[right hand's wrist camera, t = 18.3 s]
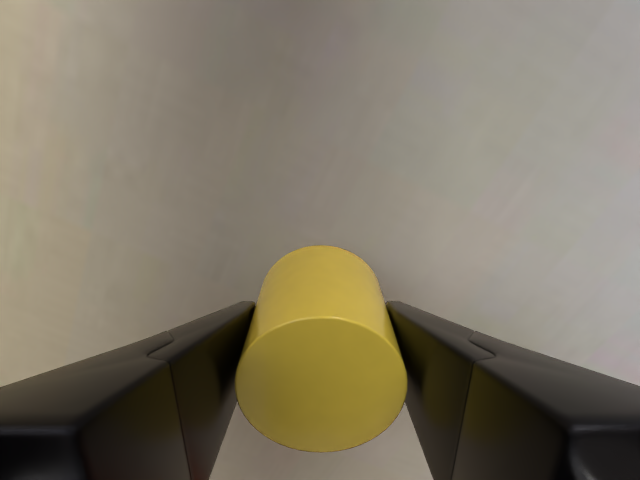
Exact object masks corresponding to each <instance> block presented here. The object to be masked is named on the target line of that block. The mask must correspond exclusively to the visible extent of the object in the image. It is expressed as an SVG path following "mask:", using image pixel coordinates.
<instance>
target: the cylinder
mask: <svg viewBox="0 0 640 480" xmlns="http://www.w3.org/2000/svg"><path fill="white" fill-rule="evenodd" d="M407 385H408V380H407V372H406V369H405V365H404V362H403V359H402V356H401V353H400V349H399V346H398V343H397V340H396V337H395V334H394V330H393V327H392V324H391V321H390V318H389V314H388V311H387V308H386V305H385V302H384V299H383V295H382V292H381V289H380V286H379V283H378V280H377V278H376V276H375V274H374V272H373V271H372V269H371V268H370V267H369V266H368V265H367V264H366V263H365V262H364V261H363V260H362V259H361V258H359V257H358V256H356V255H355V254H353V253H351V252H349V251H347V250H344V249H341V248H338V247H333V246H324V245H318V246H309V247H304V248H300V249H297V250H295V251H293V252H290V253H289V254H287V255H285V256H284V257H282V258H281V259H280V260H278V261H277V262H276V263H275V264H274V265H273V266H272V268H271V269H270V270H269V272H268V273H267V275H266V277H265V279H264V281H263V284H262V287H261V291H260V294H259V297H258V301H257V304H256V307H255V310H254V314H253V317H252V320H251V324H250V327H249V330H248V333H247V337H246V340H245V343H244V346H243V350H242V353H241V356H240V360H239V363H238V366H237V369H236V375H235V393H236V398H237V401H238V404H239V407H240V409H241V410H242V412H243V414H244V416H245V417H246V418H247V420H248V421H249V422H250V424H251V425H252V426H253V427H254V428H255V429H256V430H258V431H259V432H260V433H261V434H263V435H264V436H266V437H267V438H269V439H270V440H272V441H274V442H276V443H278V444H281V445H283V446H286V447H289V448H292V449H296V450H301V451H308V452H334V451H341V450H345V449H350V448H353V447H356V446H359V445H361V444H364V443H366V442H368V441H370V440H372V439H373V438H375V437H376V436H378V435H379V434H381V433H382V432H383V431H384V430H386V429H387V428H388V427H389V426H390V425H391V424H392V423H393V421H394V420H395V419H396V417H397V416H398V414H399V413H400V411H401V409H402V407H403V404H404V402H405V399H406V394H407Z"/></svg>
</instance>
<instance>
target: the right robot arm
mask: <svg viewBox="0 0 640 480" xmlns="http://www.w3.org/2000/svg"><path fill="white" fill-rule="evenodd" d="M255 307H256V306H255V303H254V302H253V301H243V302H240V303H237V304H235V305H232V306H229V307H227V308H224V309H222V310H219V311H217V312H214V313H212V314H209V315H207V316H204V317H202V318H199V319H196V320H194V321H191V322H189V323H186V324H184V325H181V326H179V327H176V328H174V329H171V330H169V331H165V332H162V333H160V334H157V335H154V336H152V337H149V338H146V339H144V340H141V341H138V342H135V343H132V344H129V345H127V346H124V347H121V348H118V349H115V350H112V351H109V352H105V353H102V354H99V355H96V356H93V357H90V358H87V359H84V360H81V361H78V362H75V363H72V364H69V365H66V366H63V367H60V368H57V369H54V370H51V371H48V372H45V373H42V374H39V375H36V376H33V377H30V378H27V379H24V380H21V381H18V382H15V383H12V384H9V385H6V386H3V387H0V480H209V477H210V474H211V472H212V469H213V466H214V463H215V461H216V458H217V455H218V452H219V450H220V447H221V444H222V441H223V439H224V436H225V433H226V430H227V428H228V425H229V422H230V419H231V416H232V414H233V411H234V408H235V405H236V403H237V398H236V393H235V375H236V369H237V366H238V363H239V360H240V356H241V353H242V350H243V346H244V343H245V340H246V337H247V333H248V330H249V327H250V324H251V320H252V317H253V314H254V310H255ZM386 308H387V311H388V314H389V318H390V321H391V324H392V327H393V330H394V334H395V337H396V340H397V343H398V346H399V349H400V353H401V356H402V359H403V362H404V365H405V369H406V372H407V380H408V385H407V394H406V399H405V403H406V406H407V409H408V411H409V414H410V417H411V420H412V422H413V425H414V428H415V430H416V433H417V436H418V439H419V441H420V444H421V447H422V450H423V452H424V455H425V458H426V460H427V463H428V466H429V469H430V471H431V474H432V477H433V480H640V386H638V385H634V384H631V383H628V382H625V381H622V380H619V379H616V378H613V377H610V376H607V375H604V374H601V373H598V372H595V371H592V370H589V369H586V368H583V367H580V366H577V365H574V364H571V363H568V362H565V361H561V360H558V359H555V358H552V357H549V356H546V355H543V354H540V353H537V352H534V351H531V350H528V349H525V348H522V347H519V346H516V345H513V344H510V343H507V342H504V341H501V340H499V339H496V338H493V337H491V336H488V335H485V334H483V333H480V332H477V331H475V332H474V330H471V329H469V328H466V327H463V326H461V325H458V324H456V323H453V322H451V321H448V320H445V319H443V318H440V317H438V316H435V315H433V314H430V313H428V312H425V311H422V310H420V309H417V308H415V307H412V306H410V305H407V304H405V303H402V302H399V301H388V302H387V304H386Z"/></svg>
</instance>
